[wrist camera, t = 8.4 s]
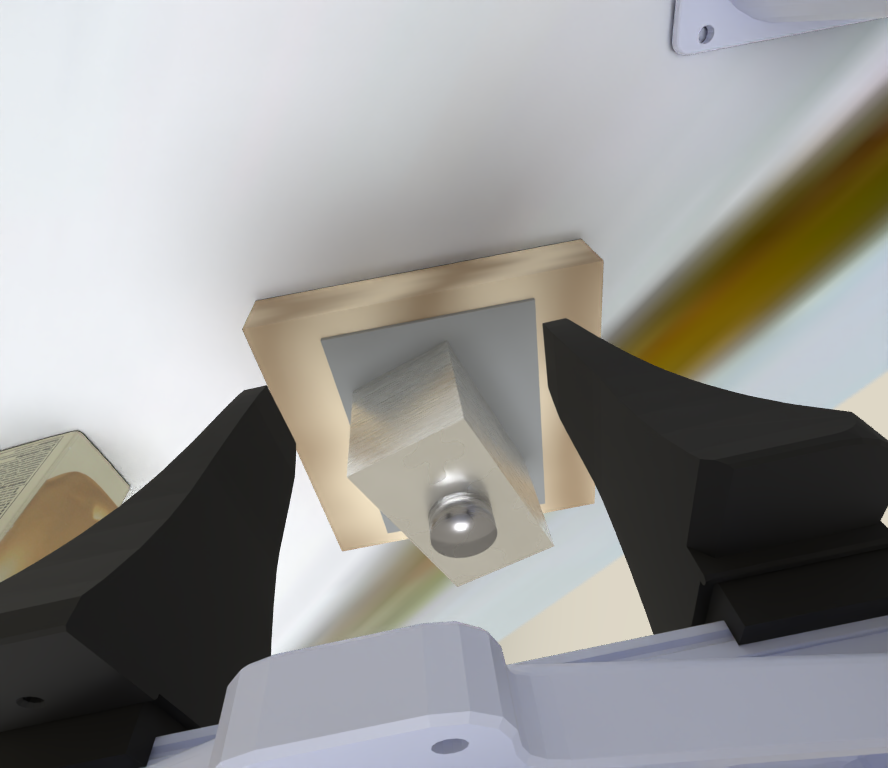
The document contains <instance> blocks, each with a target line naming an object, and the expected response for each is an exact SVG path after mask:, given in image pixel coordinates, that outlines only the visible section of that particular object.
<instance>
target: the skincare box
mask: <svg viewBox="0 0 888 768" xmlns="http://www.w3.org/2000/svg"><path fill="white" fill-rule="evenodd" d="M129 489H130V487H129V485H128V484H127V483H126V482H125V481H124V480H123V478H122V477H121V476H120V475H119V474H118V473H117V471H116V470H115V469H114V468H113V467H112V466H111V465H110V463H109V462H108V461H107V460H106V459H105V458H104V457H103V455H102V454H101V453H100V452H99V451H98V450H97V449H96V448H95V447H94V446H93V445H92V444H91V442H90V441H89V440H88V439H87V438H86V437H85V436H84V435H83V434H82V433H81V432H78V431H73V432H69V433H66V434H61V435H57V436H54V437H50V438H46V439H43V440H39V441H36V442H32V443H29V444H25V445H22V446H18V447H15V448H11V449H8V450H5V451H1V452H0V582H2V581H4V580H5V579H7V578H9V577H11V576H13V575H15V574H17V573H18V572H20V571H22V570H23V569H25V568H27V567H29V566H30V565H32V564H34V563H35V562H37V561H39V560H40V559H42V558H44V557H45V556H47V555H48V554H50V553H52V552H53V551H55V550H57V549H58V548H60V547H61V546H63V545H64V544H66V543H68V542H69V541H71V540H72V539H74V538H75V537H77V536H78V535H80V534H81V533H83V532H84V531H86V530H87V529H88V528H90V527H91V526H93V525H94V524H95V523H97V522H98V521H100V520H101V519H102V518H104V517H105V516H107V515H108V514H109V513H111V512H112V511H114V510H115V509H116V508H118V507H119V506H120V505H121V504H122V502H123V500H124V499H125V497H126V495H127V493H128V491H129Z"/></svg>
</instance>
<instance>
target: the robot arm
mask: <svg viewBox="0 0 888 768" xmlns="http://www.w3.org/2000/svg"><path fill="white" fill-rule="evenodd" d="M881 18H888V0H676V5H675V15H674V26H673V36H672V46H673V49H674V51H675V52H676V53H678V54H679V55H692V54H697V53H702V52H707V51H713V50H718V49H723V48H729V47H734V46H739V45H744V44H750V43H755V42H760V41H765V40H771V39H776V38H781V37H786V36H792V35H797V34H802V33H807V32H813V31H818V30H823V29H829V28H834V27H839V26H844V25H850V24H855V23H860V22H865V21H871V20H876V19H881ZM704 26H706V27H707V29H708V34H707V37H706V39H705V40H704V41H703V42H702V43H700V41H699V33H700V31H701V29H702V28H703V27H704ZM542 326H543V337H544V349H545V360H546V371H547V382H548V389H549V392H550V394H551V397H552V400H553V403H554V405H555V408H556V411H557V413H558V416H559V418H560V420H561V422H562V424H563V426H564V428H565V430H566V432H567V434H568V435H569V437H570V439H571V441H572V443H573V445H574V447H575V448H576V450H577V452H578V454H579V456H580V458H581V459H582V461H583V463H584V465H585V467H586V469H587V470H588V472H589V474H590V476H591V478H592V480H593V481H594V483H595V485H596V487H597V489H598V492H599V494H600V496H601V498H602V500H603V502H604V505H605V507H606V510H607V512H608V515H609V517H610V520H611V522H612V525H613V527H614V529H615V532H616V535H617V537H618V540H619V542H620V545H621V547H622V550H623V553H624V555H625V558H626V560H627V562H628V565H629V568H630V571H631V573H632V576H633V579H634V582H635V584H636V587H637V590H638V592H639V595H640V598H641V601H642V603H643V606H644V609H645V611H646V614H647V617H648V620H649V623H650V626H651V629H652V632H653V634H654V635H650V636H645V637H640V638H636V639H631V640H626V641H621V642H616V643H611V644H606V645H601V646H597V647H592V648H587V649H582V650H577V651H573V652H568V653H563V654H558V655H553V656H549V657H543V658H538V659H534V660H529V661H524V662H519V663H514V664H509V665H506V664H505V659H504V656H503V652H502V648H501V646H500V645H499V644H498V643H497V641H496V640H495V639H494V638H493V637H492V636H491V635H490V634H489V633H488V632H487V631H485V630H484V629H482V628H479V627H475V626H472V625H468V624H464V623H460V622H456V621H452V622H437V623H423V624H418V625H413V626H408V627H404V628H399V629H394V630H389V631H384V632H380V633H375V634H370V635H365V636H360V637H356V638H351V639H346V640H341V641H337V642H332V643H327V644H322V645H317V646H313V647H308V648H303V649H298V650H294V651H289V652H284V653H279V654H275V655H272V656H271V639H272V623H273V606H274V595H275V583H276V572H277V564H278V558H279V552H280V547H281V542H282V537H283V532H284V528H285V523H286V518H287V513H288V508H289V504H290V498H291V493H292V488H293V483H294V478H295V464H296V442H295V440H294V438H293V436H292V434H291V432H290V430H289V428H288V426H287V424H286V422H285V420H284V418H283V416H282V414H281V412H280V410H279V408H278V406H277V404H276V402H275V400H274V398H273V396H272V395H271V393H270V391H269V389H268V387H267V385H266V386H261V387H257V388H253V389H248V390H244V391H243V392H242V393H240V394H239V395H238V396H237V397H236V398H235V399H234V400H233V401H232V402H231V403H230V404H229V405H228V406H227V407H226V408H225V409H224V410H223V411H222V412H221V413H220V414H219V415H218V416H217V417H216V418H215V419H214V420H213V421H212V422H211V423H210V424H209V425H208V426H207V427H206V428H205V430H204V431H203V432H202V433H201V434H200V435H199V436H198V437H197V438H196V439H195V440H194V441H193V442H192V443H191V444H190V445H189V446H188V447H187V448H186V449H185V450H184V451H183V452H181V453H180V454H179V455H178V456H177V457H176V458H175V459H174V460H173V461H172V462H171V463H170V464H169V465H168V466H167V467H166V468H165V469H164V470H163V471H161V472H160V473H159V474H158V475H157V476H156V477H155V478H154V479H152V480H151V481H150V482H149V483H148V484H147V485H145V486H144V487H143V488H142V489H141V490H139V491H138V492H137V493H136V494H134V495H133V496H132V497H131V498H129V499H128V500H127V501H126V502H124V503H123V504H122V505H120V506H119V507H118V508H116V509H115V510H114V511H112V512H111V513H109V514H108V515H107V516H105V517H104V518H102V519H101V520H100V521H98V522H97V523H95V524H94V525H93V526H91V527H90V528H88V529H87V530H86V531H84V532H83V533H81V534H80V535H78V536H77V537H75V538H74V539H72V540H71V541H69V542H68V543H66V544H64V545H63V546H61V547H60V548H58V549H57V550H55V551H53V552H52V553H50V554H48V555H47V556H45V557H44V558H42V559H40V560H39V561H37V562H35V563H34V564H32V565H30V566H29V567H27V568H25V569H23V570H22V571H20V572H18V573H17V574H15V575H13V576H11V577H9V578H7V579H5V580H4V581H2V582H0V768H888V528H887V527H886V526H885V525H884V524H883V523H882V522H881V521H880V520H881V518H882V516H883V514H884V512H885V510H886V508H887V507H888V440H887V439H885V438H884V437H883V436H881V435H880V434H879V433H878V432H877V431H875V430H874V429H873V428H872V427H870V426H869V425H868V424H866V423H865V422H864V421H863V420H861V419H860V418H859V417H858V416H856V415H855V414H854V413H852V412H847V411H840V410H832V409H825V408H817V407H809V406H802V405H794V404H789V403H783V402H778V401H773V400H768V399H762V398H757V397H753V396H748V395H744V394H740V393H736V392H732V391H728V390H725V389H721V388H717V387H714V386H710V385H707V384H703V383H700V382H697V381H694V380H691V379H688V378H685V377H683V376H680V375H677V374H674V373H672V372H669V371H666V370H664V369H661V368H659V367H657V366H654V365H652V364H650V363H648V362H646V361H643V360H641V359H639V358H637V357H635V356H633V355H631V354H629V353H627V352H625V351H623V350H621V349H619V348H617V347H615V346H614V345H612V344H610V343H608V342H606V341H605V340H603V339H601V338H599V337H598V336H596V335H594V334H593V333H591V332H589V331H588V330H586V329H584V328H583V327H581V326H579V325H578V324H576V323H574V322H573V321H571V320H569V319H567V318H564V319H559V320H555V321H550V322H546V323H542Z"/></svg>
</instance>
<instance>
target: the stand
mask: <svg viewBox="0 0 888 768" xmlns="http://www.w3.org/2000/svg"><path fill="white" fill-rule="evenodd" d="M603 262H604V261H603V260H602V259H601V258H600V257H599V256H598V255H597V254H596V253H595V252H594V251H593V250H592V249H591V248H590V247H589V246H588V245H587V244H586V243H585V242H584V241H583V240H582V239H579V240H574V241H569V242H563V243H558V244H553V245H548V246H542V247H537V248H532V249H527V250H521V251H516V252H511V253H505V254H500V255H495V256H490V257H484V258H479V259H474V260H469V261H463V262H458V263H453V264H448V265H442V266H437V267H432V268H427V269H421V270H416V271H411V272H406V273H400V274H395V275H390V276H385V277H379V278H374V279H369V280H363V281H358V282H353V283H348V284H342V285H337V286H332V287H327V288H321V289H316V290H311V291H306V292H300V293H295V294H290V295H285V296H279V297H274V298H269V299H264V300H258V301H255V303H254V305H253V308H252V310H251V312H250V314H249V316H248V318H247V320H246V322H245V325H244V327H243V329H242V330H243V332H244V334H245V337H246V339H247V341H248V343H249V346H250V348H251V350H252V352H253V354H254V357H255V359H256V361H257V363H258V366H259V368H260V370H261V372H262V374H263V377H264V379H265V381H266V383H267V386H268V388H269V390H270V392H271V394H272V396H273V398H274V400H275V402H276V404H277V406H278V408H279V410H280V412H281V414H282V416H283V418H284V420H285V422H286V424H287V426H288V428H289V430H290V432H291V434H292V436H293V438H294V440H295V442H296V450H297V452H298V454H299V457H300V459H301V461H302V463H303V465H304V468H305V470H306V472H307V474H308V476H309V479H310V481H311V483H312V485H313V488H314V490H315V492H316V494H317V496H318V499H319V501H320V503H321V505H322V508H323V510H324V512H325V514H326V516H327V519H328V521H329V523H330V525H331V528H332V530H333V532H334V534H335V536H336V539H337V541H338V543H339V545H340V548H341V550H342V551H347V550H352V549H357V548H363V547H368V546H373V545H378V544H384V543H389V542H394V541H399V540H405V539H409V538H408V537H407V536H406V535H405V534H404V533H403V532H402V531H401V530H400V529H399V528H398V527H397V526H396V525H395V524H394V523H393V522H392V521H391V520H390V519H389V518H388V517H387V516H386V515H385V514H383V513H382V512H381V511H380V510H379V509H378V508H377V507H376V506H375V505H374V504H373V503H372V502H371V501H370V500H369V499H368V498H367V497H366V496H365V495H364V494H363V493H362V492H361V491H360V490H359V489H358V488H357V487H356V486H355V485H354V484H353V483H352V482H351V481H350V480H349V479H348V478H347V466H348V452H349V438H350V425H351V411H352V397H353V391H354V390H355V389H357V388H359V387H361V386H363V385H365V384H367V383H368V382H370V381H372V380H374V379H376V378H378V377H380V376H381V375H383V374H385V373H387V372H389V371H391V370H392V369H394V368H396V367H398V366H400V365H402V364H404V363H405V362H407V361H409V360H411V359H413V358H415V357H417V356H418V355H420V354H422V353H424V352H426V351H428V350H430V349H431V348H433V347H435V346H437V345H439V344H441V343H443V342H444V341H447V342H448V344H449V345H450V347H451V348H452V350H453V352H454V353H455V355H456V356H457V358H458V359H459V361H460V362H461V364H462V365H463V367H464V368H465V370H466V371H467V373H468V375H469V376H470V378H471V379H472V381H473V382H474V384H475V385H476V387H477V388H478V390H479V391H480V393H481V395H482V396H483V398H484V399H485V401H486V402H487V404H488V405H489V407H490V408H491V410H492V411H493V413H494V414H495V416H496V418H497V419H498V421H499V422H500V424H501V425H502V427H503V428H504V430H505V431H506V433H507V434H508V436H509V438H510V439H511V441H512V442H513V444H514V445H515V447H516V448H517V450H518V451H519V453H520V454H521V456H522V457H523V459H524V461H525V463H526V466H527V469H528V472H529V475H530V478H531V481H532V484H533V486H534V489H535V492H536V495H537V498H538V501H539V504H540V507H541V509H542V512H543V513H546V512H552V511H557V510H562V509H567V508H573V507H578V506H583V505H588V504H594V499H595V483H594V481H593V480H592V478H591V476H590V474H589V472H588V470H587V469H586V467H585V465H584V463H583V461H582V459H581V458H580V456H579V454H578V452H577V450H576V448H575V447H574V445H573V443H572V441H571V439H570V437H569V435H568V434H567V432H566V430H565V428H564V426H563V424H562V422H561V420H560V418H559V416H558V413H557V411H556V408H555V405H554V403H553V400H552V397H551V394H550V392H549V389H548V382H547V371H546V360H545V349H544V337H543V326H542V323H546V322H550V321H555V320H559V319H564V318H567V319H569V320H571V321H573V322H574V323H576V324H578V325H579V326H581V327H583V328H584V329H586V330H588V331H589V332H591V333H593V334H594V335H596V336H598V337H599V338H601V315H602V288H603Z"/></svg>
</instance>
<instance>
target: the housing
mask: <svg viewBox="0 0 888 768" xmlns="http://www.w3.org/2000/svg"><path fill="white" fill-rule="evenodd" d="M347 478H348V479H349V480H350V481H351V482H352V483H353V484H354V485H355V486H356V487H357V488H358V489H359V490H360V491H361V492H362V493H363V494H364V495H365V496H366V497H367V498H368V499H369V500H370V501H371V502H372V503H373V504H374V505H375V506H376V507H377V508H378V509H379V510H380V511H381V512H382V513H383V514H385V515H386V516H387V517H388V518H389V519H390V520H391V521H392V522H393V523H394V524H395V525H396V526H397V527H398V528H399V529H400V530H401V531H402V532H403V533H404V534H405V535H406V536H407V537H408V538H409V539H410V540H411V541H412V542H413V543H414V544H415V545H416V546H417V547H418V548H419V549H420V550H421V551H422V552H423V553H424V554H425V555H426V556H427V557H428V558H429V559H430V560H431V561H432V562H433V563H434V564H435V565H436V566H437V567H438V568H439V569H440V570H441V571H442V572H443V573H444V574H445V575H446V576H447V577H448V578H449V579H450V580H451V581H452V582H453V583H454V584H455V585H456V586H457V587H458V586H461V585H463V584H466V583H468V582H470V581H473V580H475V579H477V578H480V577H482V576H484V575H487V574H489V573H492V572H494V571H496V570H499V569H501V568H503V567H506V566H508V565H511V564H513V563H515V562H518V561H520V560H522V559H525V558H527V557H530V556H532V555H534V554H537V553H539V552H541V551H544V550H546V549H549V548H551V547H553V546H554V544H553V541H552V538H551V535H550V532H549V530H548V527H547V524H546V521H545V518H544V515H543V512H542V509H541V507H540V504H539V501H538V498H537V495H536V492H535V489H534V486H533V484H532V481H531V478H530V475H529V472H528V469H527V466H526V463H525V461H524V459H523V457H522V456H521V454H520V453H519V451H518V450H517V448H516V447H515V445H514V444H513V442H512V441H511V439H510V438H509V436H508V434H507V433H506V431H505V430H504V428H503V427H502V425H501V424H500V422H499V421H498V419H497V418H496V416H495V414H494V413H493V411H492V410H491V408H490V407H489V405H488V404H487V402H486V401H485V399H484V398H483V396H482V395H481V393H480V391H479V390H478V388H477V387H476V385H475V384H474V382H473V381H472V379H471V378H470V376H469V375H468V373H467V371H466V370H465V368H464V367H463V365H462V364H461V362H460V361H459V359H458V358H457V356H456V355H455V353H454V352H453V350H452V348H451V347H450V345H449V344H448V342H447V341H444V342H443V343H441V344H439V345H437V346H435V347H433V348H431V349H430V350H428V351H426V352H424V353H422V354H420V355H418V356H417V357H415V358H413V359H411V360H409V361H407V362H405V363H404V364H402V365H400V366H398V367H396V368H394V369H392V370H391V371H389V372H387V373H385V374H383V375H381V376H380V377H378V378H376V379H374V380H372V381H370V382H368V383H367V384H365V385H363V386H361V387H359V388H357V389H355V390H354V391H353V397H352V411H351V425H350V438H349V452H348V466H347Z"/></svg>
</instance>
